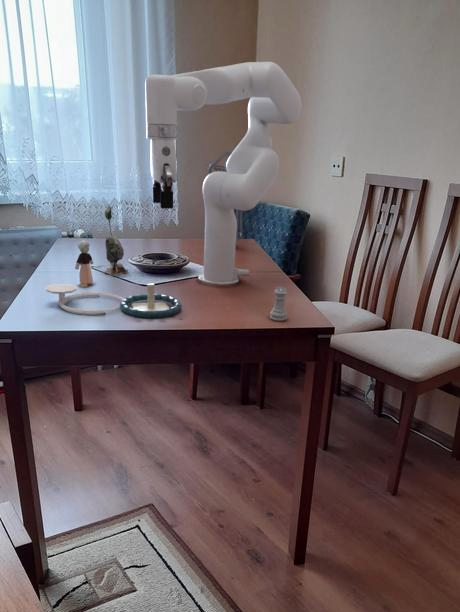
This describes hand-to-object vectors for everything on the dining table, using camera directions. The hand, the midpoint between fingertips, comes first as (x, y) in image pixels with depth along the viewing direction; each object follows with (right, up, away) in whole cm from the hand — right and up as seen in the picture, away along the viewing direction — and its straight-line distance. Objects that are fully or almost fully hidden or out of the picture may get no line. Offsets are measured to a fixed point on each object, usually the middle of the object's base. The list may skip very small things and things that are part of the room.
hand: (162, 205), depth 145 cm
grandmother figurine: (-24, -18, +16) cm, 34 cm away
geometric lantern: (+15, +12, +78) cm, 80 cm away
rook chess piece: (+30, -31, -3) cm, 43 cm away
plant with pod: (-18, -11, +29) cm, 36 cm away
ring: (-2, -27, -5) cm, 28 cm away
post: (-3, -29, -4) cm, 29 cm away
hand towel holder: (-20, -27, -2) cm, 33 cm away
